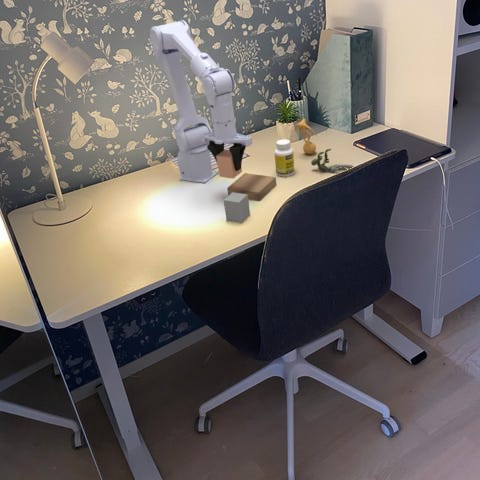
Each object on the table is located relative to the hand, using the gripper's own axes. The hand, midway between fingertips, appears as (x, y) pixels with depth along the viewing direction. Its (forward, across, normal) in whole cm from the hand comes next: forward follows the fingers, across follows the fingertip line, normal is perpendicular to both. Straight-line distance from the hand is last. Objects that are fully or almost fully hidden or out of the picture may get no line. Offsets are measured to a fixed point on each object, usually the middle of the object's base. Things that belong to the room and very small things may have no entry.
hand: (230, 168), depth 146 cm
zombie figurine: (+9, +21, +23) cm, 33 cm away
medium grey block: (+9, +7, -10) cm, 15 cm away
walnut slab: (+9, +3, +5) cm, 11 cm away
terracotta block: (+2, 0, 0) cm, 2 cm away
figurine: (+9, +8, +32) cm, 34 cm away
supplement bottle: (+9, +7, +18) cm, 21 cm away
